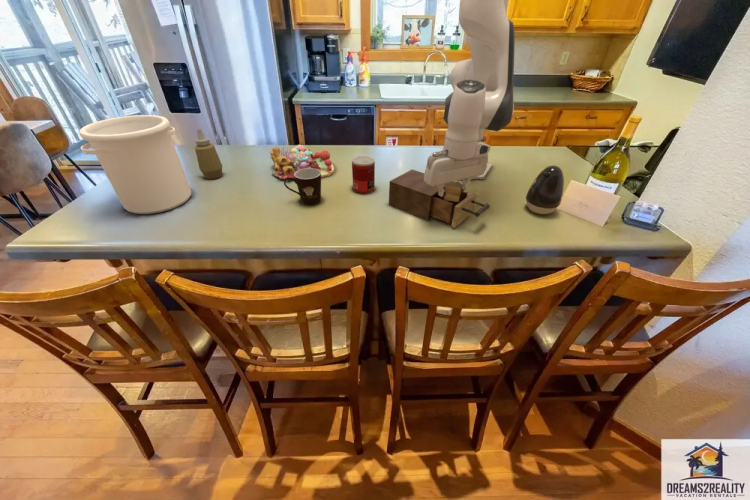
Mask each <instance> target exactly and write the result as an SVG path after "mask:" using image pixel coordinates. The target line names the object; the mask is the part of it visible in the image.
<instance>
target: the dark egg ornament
mask: <svg viewBox="0 0 750 500" xmlns="http://www.w3.org/2000/svg"><path fill="white" fill-rule="evenodd" d="M564 184H565V177H564V172H563V170H562V168H561V167H559V166H558V165H548V166H546V167H545V168H544V169H542V170H541V171H540V172H539V174H538V175H537V176H536V177H535V179H534V180H533V181H532V183H531V185H530V187H529V188H528V191H527V192H526V194H525V201H526V203H525V204H526V207H527V208H528V209H529V210H530V212H532V213H535V214H537V215H548V214H551V213H553V212H555V210H556V209H557V208H558V207H560V205H561V203H562V199H563V194H564V186H565V185H564Z"/></svg>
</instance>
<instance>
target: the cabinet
mask: <svg viewBox="0 0 750 500" xmlns="http://www.w3.org/2000/svg"><path fill="white" fill-rule="evenodd" d="M424 173H425V172H421V171H419V170H416V169H410V170H408V171H406V172H404V173H403V174H400V175H398V176H396V177H395V178H393V179H390V180H389V184H388V187H389V189H388V205H389V206H391V207H393V208H396V209H397V210H400V211H403V212H405V213H408V214H410V215H413V216H415V217H418V218H419V219H420V218H421V219H422V220H425V221H430V220H431V219H433V218H434V217H433V216H430V210H431V203H432V197H433V196H435V195H437V194H438V192H439V190H438V187H437V186H432V187H431V186H429V185H428V184H426V183H425V181H424ZM445 185H446V183H445ZM443 189H445V186H444V187H443Z"/></svg>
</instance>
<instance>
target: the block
mask: <svg viewBox="0 0 750 500" xmlns="http://www.w3.org/2000/svg"><path fill="white" fill-rule="evenodd" d="M461 183H462V181H461V182H460V181H454V182H450V183H446V185H445V190H446V195H445V196H444V200H445V201H453V202H459V197H460V192H461Z"/></svg>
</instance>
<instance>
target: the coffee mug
mask: <svg viewBox="0 0 750 500" xmlns="http://www.w3.org/2000/svg"><path fill="white" fill-rule="evenodd" d="M294 176H295V179H294V178H286V179H283V185H284V187H285V188H286V189H288V190H289V191H291V192H292V193H295V194H297V195H298V196H299V198H300V200H301V203H302V205H304V206H309V207H311V206H316V205H318V204H320V203H321V201H322V177H321V171H320V170H318V169H314V168H305V169H301V170H298V171H296V172H295V173H294ZM289 179H290V180H291V181H293V183H294V184H296V187H297V190H298V191H296V190H295V189H292V188H291V187H289V186H288V185H287V183H286V182H288V181H290V180H289ZM287 180H288V181H287Z"/></svg>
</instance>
